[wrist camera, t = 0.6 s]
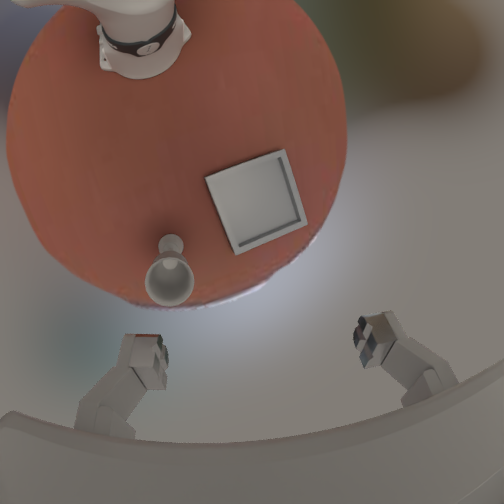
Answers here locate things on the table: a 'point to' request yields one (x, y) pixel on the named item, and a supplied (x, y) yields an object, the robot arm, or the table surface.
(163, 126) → the table surface
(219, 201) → the tray
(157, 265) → the chalice
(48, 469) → the robot arm
